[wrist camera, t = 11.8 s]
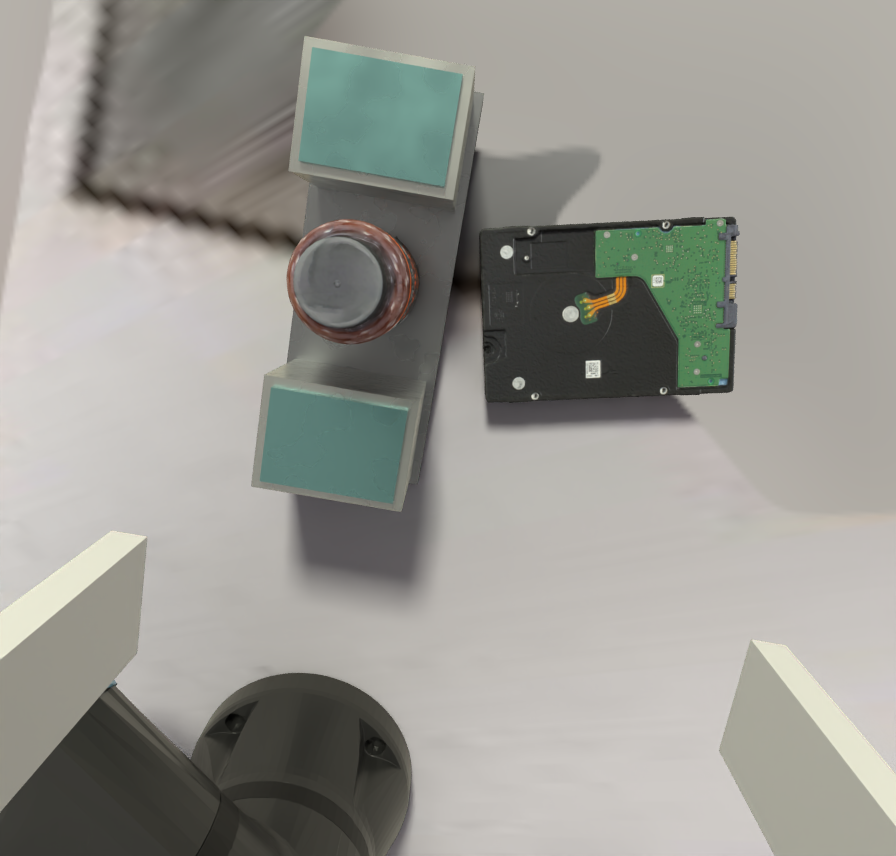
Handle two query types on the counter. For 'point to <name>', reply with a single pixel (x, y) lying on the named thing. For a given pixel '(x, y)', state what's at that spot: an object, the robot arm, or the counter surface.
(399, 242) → the supplement bottle
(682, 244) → the disk drive
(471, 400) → the counter surface
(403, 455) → the rail
